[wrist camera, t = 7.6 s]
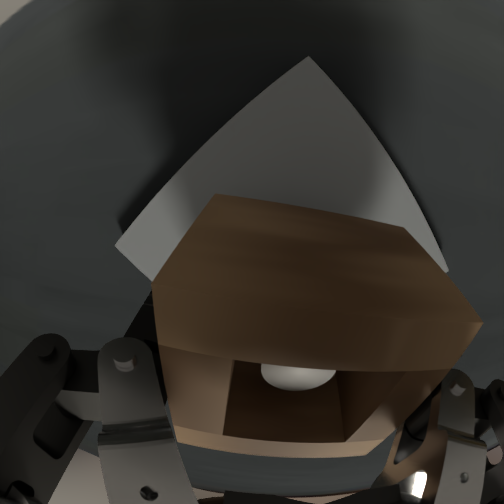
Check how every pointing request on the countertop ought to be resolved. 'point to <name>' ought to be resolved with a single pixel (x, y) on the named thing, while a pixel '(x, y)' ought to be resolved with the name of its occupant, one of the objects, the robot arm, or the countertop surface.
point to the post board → (283, 179)
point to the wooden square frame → (301, 328)
